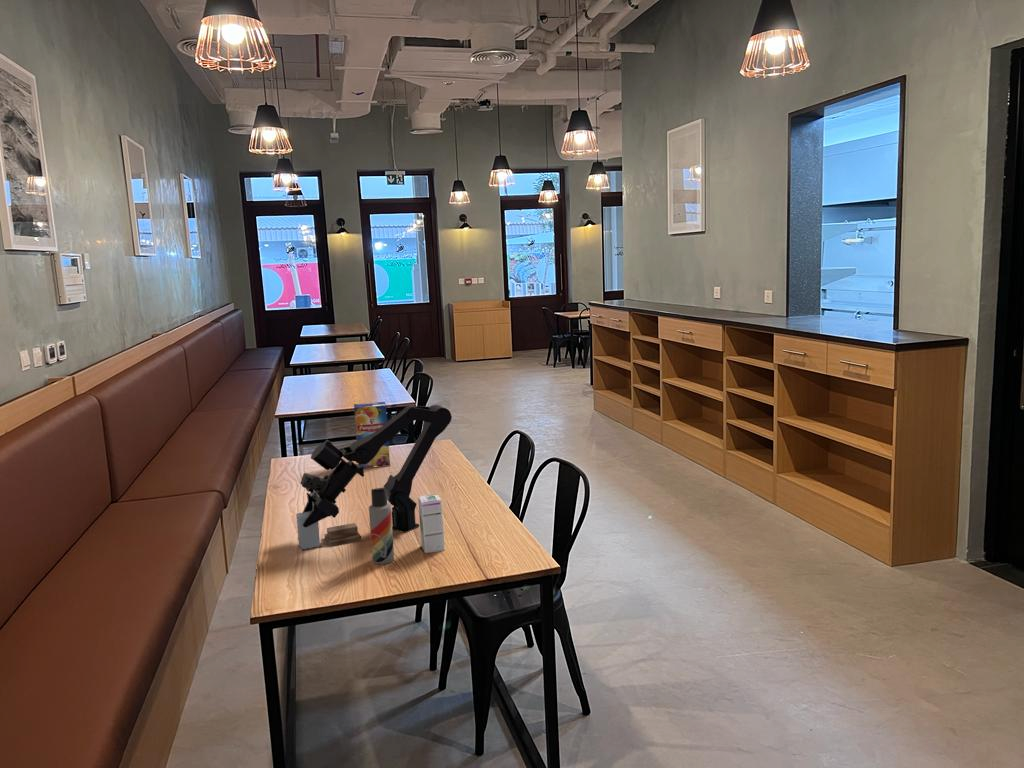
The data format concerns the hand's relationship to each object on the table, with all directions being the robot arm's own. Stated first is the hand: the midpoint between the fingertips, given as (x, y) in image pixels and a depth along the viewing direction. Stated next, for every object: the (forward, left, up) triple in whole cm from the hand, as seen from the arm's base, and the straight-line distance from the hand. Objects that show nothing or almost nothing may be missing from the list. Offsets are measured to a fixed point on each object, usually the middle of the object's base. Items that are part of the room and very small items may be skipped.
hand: (302, 523), depth 209 cm
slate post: (-1, -1, -7) cm, 7 cm away
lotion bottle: (-27, -4, -7) cm, 28 cm away
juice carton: (+44, -71, -7) cm, 84 cm away
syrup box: (-33, -17, -7) cm, 38 cm away
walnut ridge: (-5, -9, -7) cm, 13 cm away
